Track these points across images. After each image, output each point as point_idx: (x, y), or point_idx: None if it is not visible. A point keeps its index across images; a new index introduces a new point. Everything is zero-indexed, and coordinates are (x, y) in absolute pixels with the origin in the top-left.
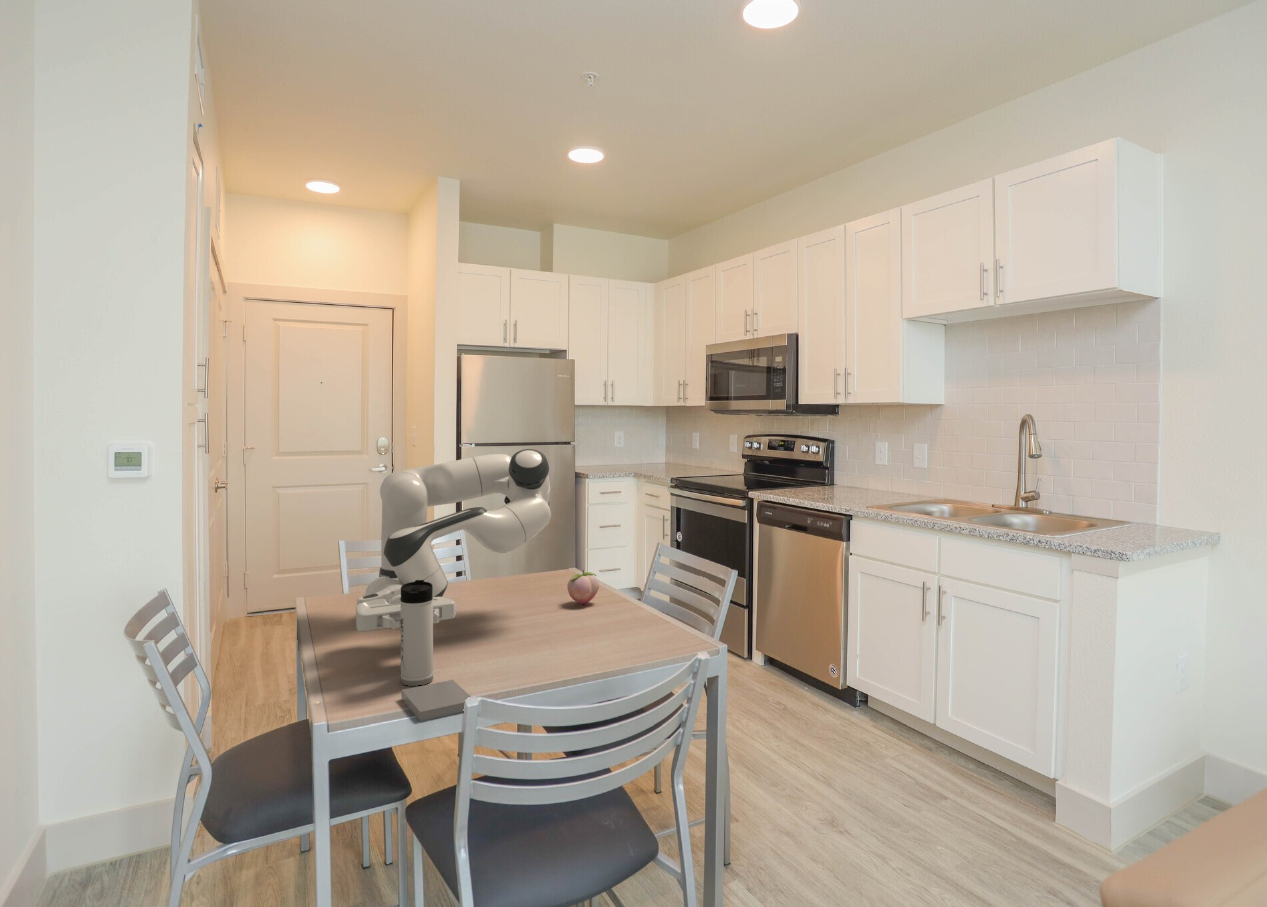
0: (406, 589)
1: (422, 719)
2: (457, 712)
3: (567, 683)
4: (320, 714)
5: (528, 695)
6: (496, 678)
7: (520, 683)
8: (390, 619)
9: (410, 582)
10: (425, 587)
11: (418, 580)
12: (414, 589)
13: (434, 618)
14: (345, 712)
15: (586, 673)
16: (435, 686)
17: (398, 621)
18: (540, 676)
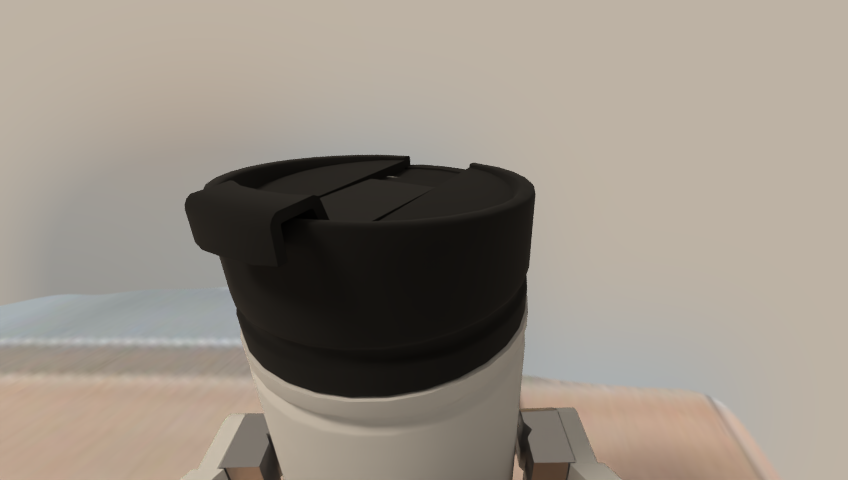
0: (479, 189)
1: None
2: None
3: (112, 355)
4: (766, 457)
5: (234, 338)
6: (176, 473)
7: (175, 402)
8: (601, 465)
9: (379, 225)
10: (306, 185)
11: (272, 192)
12: (410, 185)
13: None
14: (680, 436)
15: (4, 384)
16: None
17: (533, 410)
18: (86, 421)
